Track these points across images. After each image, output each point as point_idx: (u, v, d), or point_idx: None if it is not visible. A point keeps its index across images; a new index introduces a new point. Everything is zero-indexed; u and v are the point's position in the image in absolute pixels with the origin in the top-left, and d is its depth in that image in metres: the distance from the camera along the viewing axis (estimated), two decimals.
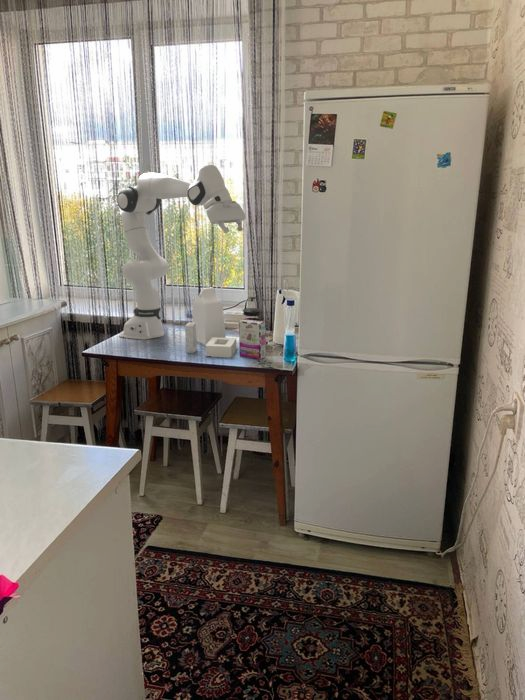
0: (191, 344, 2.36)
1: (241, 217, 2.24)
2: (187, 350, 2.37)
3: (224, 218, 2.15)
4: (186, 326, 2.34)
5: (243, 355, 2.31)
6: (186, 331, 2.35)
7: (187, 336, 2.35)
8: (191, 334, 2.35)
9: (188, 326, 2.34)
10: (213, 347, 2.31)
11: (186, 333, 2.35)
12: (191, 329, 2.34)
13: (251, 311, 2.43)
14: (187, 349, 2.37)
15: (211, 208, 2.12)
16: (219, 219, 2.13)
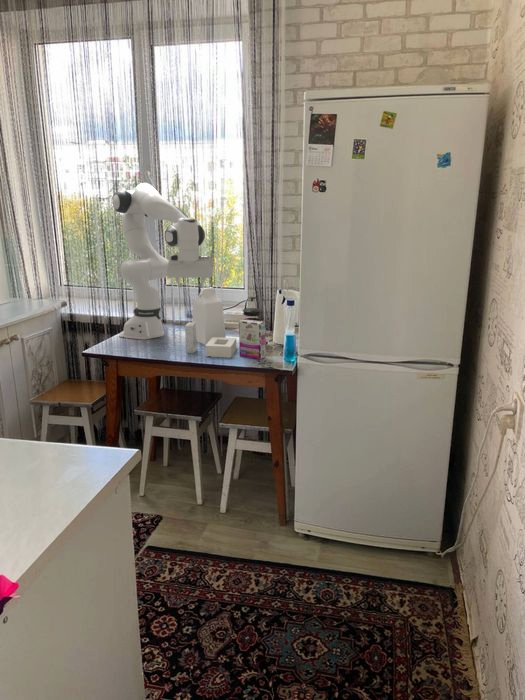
0: (191, 344, 2.36)
1: (204, 276, 2.28)
2: (187, 350, 2.37)
3: (178, 276, 2.28)
4: (186, 326, 2.34)
5: (243, 355, 2.31)
6: (186, 331, 2.35)
7: (187, 336, 2.35)
8: (191, 334, 2.35)
9: (188, 326, 2.34)
10: (213, 347, 2.31)
11: (186, 333, 2.35)
12: (191, 329, 2.34)
13: (251, 311, 2.43)
14: (187, 349, 2.37)
15: None
16: (171, 276, 2.29)
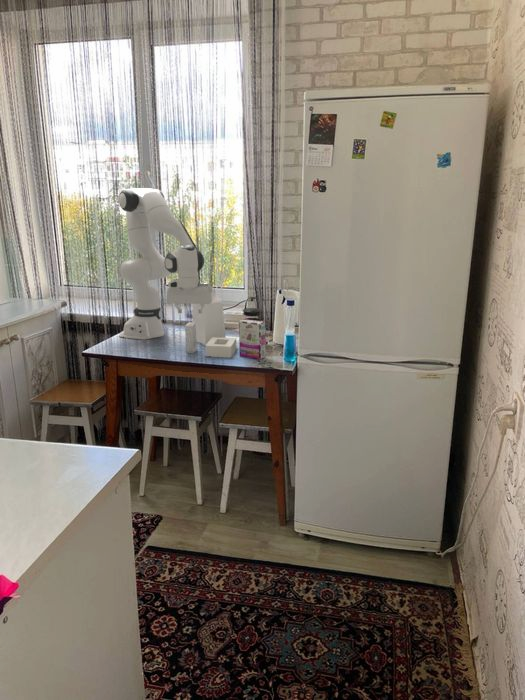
0: (191, 344, 2.36)
1: (202, 302, 2.31)
2: (187, 350, 2.37)
3: (177, 302, 2.32)
4: (186, 326, 2.34)
5: (243, 355, 2.31)
6: (186, 331, 2.35)
7: (187, 336, 2.35)
8: (191, 334, 2.35)
9: (188, 326, 2.34)
10: (213, 347, 2.31)
11: (186, 333, 2.35)
12: (191, 329, 2.34)
13: (251, 311, 2.43)
14: (187, 349, 2.37)
15: None
16: (170, 302, 2.33)
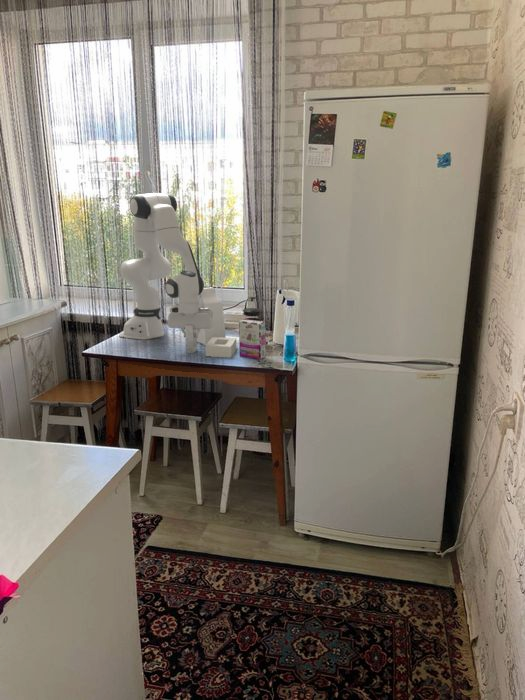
0: (191, 344, 2.36)
1: (203, 327, 2.34)
2: (187, 350, 2.37)
3: (179, 326, 2.36)
4: (186, 326, 2.34)
5: (243, 355, 2.31)
6: (186, 331, 2.34)
7: (187, 336, 2.35)
8: (191, 334, 2.35)
9: (188, 326, 2.34)
10: (213, 347, 2.31)
11: (186, 333, 2.35)
12: (191, 329, 2.34)
13: (251, 311, 2.43)
14: (187, 349, 2.37)
15: None
16: (172, 327, 2.36)
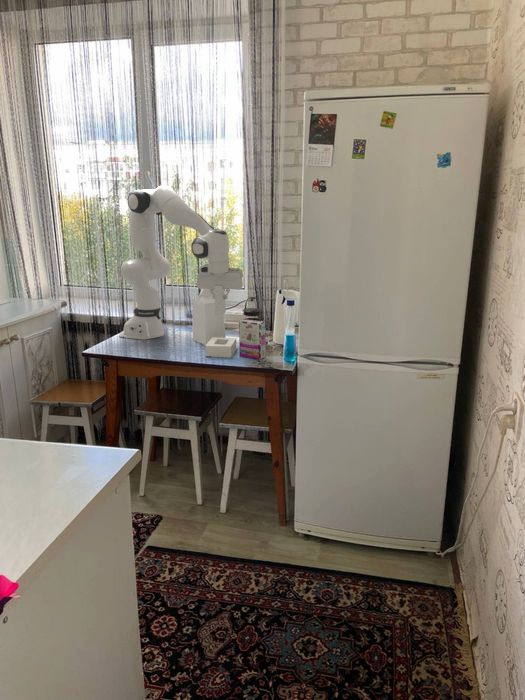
0: (221, 305, 2.29)
1: (233, 288, 2.27)
2: (216, 312, 2.30)
3: (208, 287, 2.29)
4: (215, 286, 2.27)
5: (243, 355, 2.31)
6: (215, 292, 2.27)
7: (216, 297, 2.28)
8: (221, 295, 2.28)
9: (218, 286, 2.27)
10: (213, 347, 2.31)
11: (215, 294, 2.28)
12: (221, 289, 2.27)
13: (251, 311, 2.43)
14: (216, 311, 2.30)
15: None
16: (200, 287, 2.29)
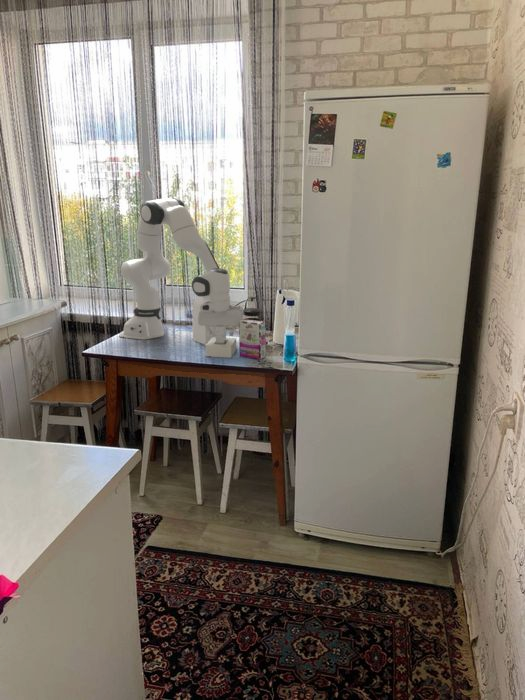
0: None
1: (234, 325, 2.32)
2: None
3: (209, 324, 2.33)
4: (217, 327, 2.32)
5: (243, 355, 2.31)
6: (216, 332, 2.33)
7: (217, 337, 2.33)
8: (221, 335, 2.33)
9: (219, 327, 2.32)
10: (213, 347, 2.31)
11: (216, 334, 2.33)
12: (222, 330, 2.32)
13: (251, 311, 2.43)
14: None
15: (199, 313, 2.33)
16: (202, 324, 2.34)
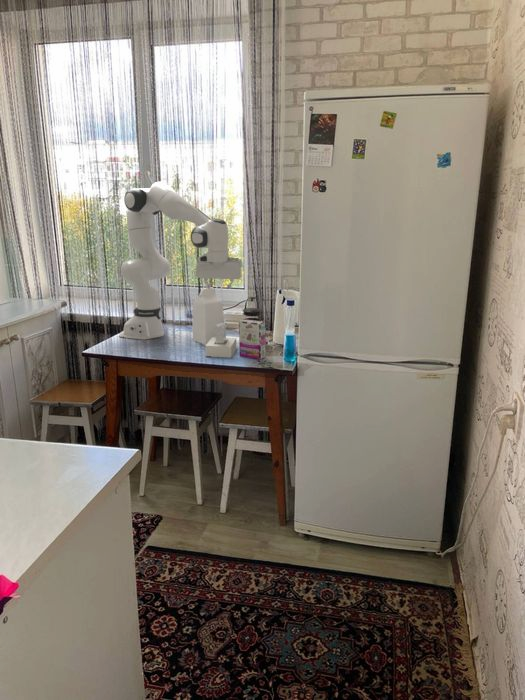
0: None
1: (232, 277, 2.28)
2: None
3: (207, 276, 2.29)
4: (217, 327, 2.32)
5: (243, 355, 2.31)
6: (216, 332, 2.33)
7: (217, 337, 2.33)
8: (221, 335, 2.33)
9: (219, 327, 2.32)
10: (213, 347, 2.31)
11: (216, 334, 2.33)
12: (222, 330, 2.32)
13: (251, 311, 2.43)
14: None
15: (196, 265, 2.29)
16: (199, 277, 2.30)
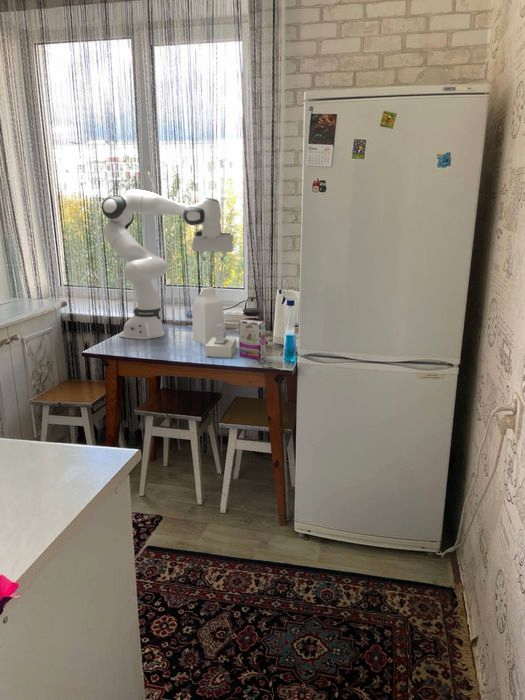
0: None
1: (224, 250, 2.56)
2: None
3: (202, 250, 2.57)
4: (217, 327, 2.32)
5: (243, 355, 2.31)
6: (216, 332, 2.33)
7: (217, 337, 2.33)
8: (221, 335, 2.33)
9: (219, 327, 2.32)
10: (213, 347, 2.31)
11: (216, 334, 2.33)
12: (222, 330, 2.32)
13: (251, 311, 2.43)
14: None
15: None
16: (195, 250, 2.58)
